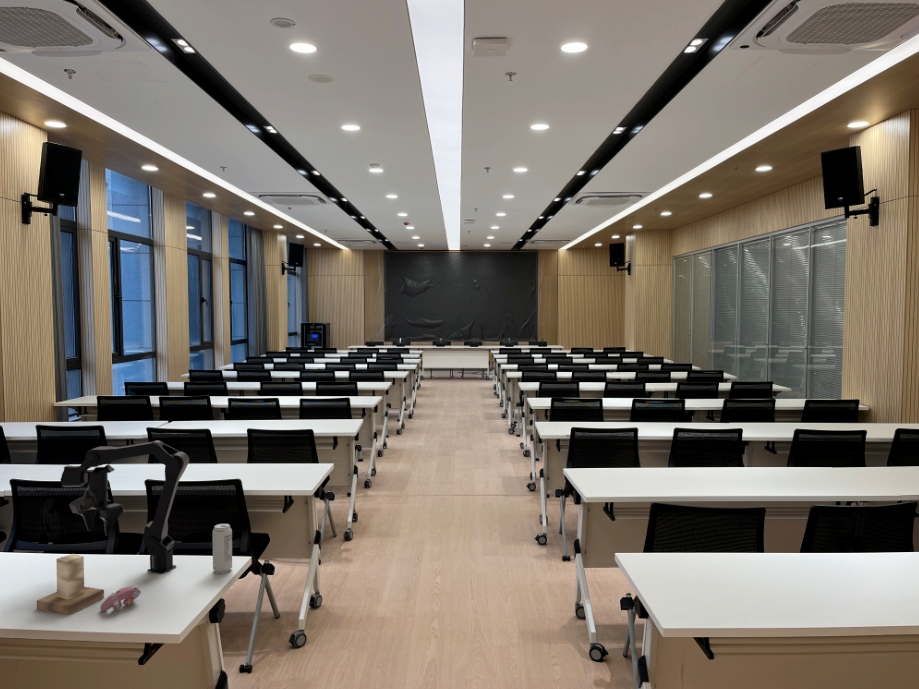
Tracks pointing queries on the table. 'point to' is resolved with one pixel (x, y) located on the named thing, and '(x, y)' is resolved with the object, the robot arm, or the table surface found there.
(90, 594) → the walnut base block
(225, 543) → the energy drink can
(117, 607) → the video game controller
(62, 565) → the birch block
